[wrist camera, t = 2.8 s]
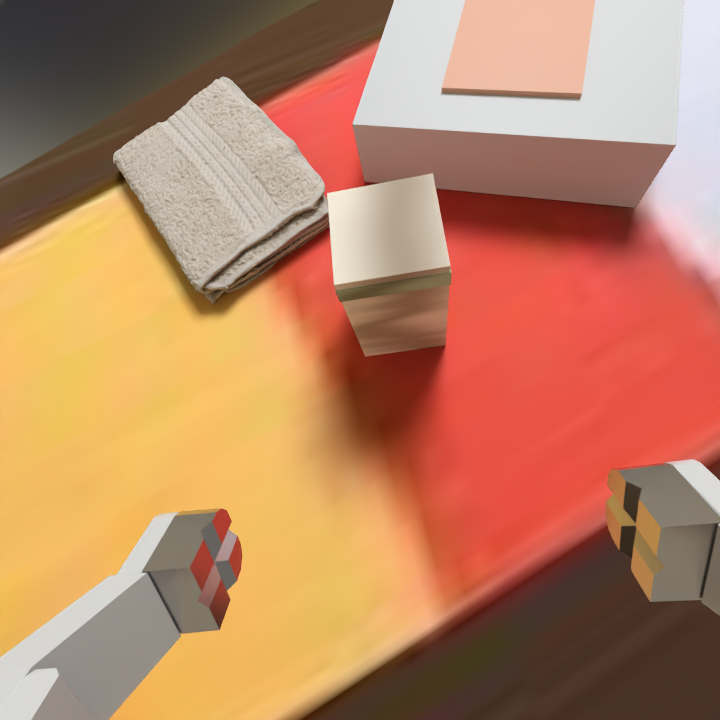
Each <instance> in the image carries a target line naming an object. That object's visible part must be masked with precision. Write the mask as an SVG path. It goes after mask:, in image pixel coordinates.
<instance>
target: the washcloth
mask: <svg viewBox="0 0 720 720" xmlns="http://www.w3.org/2000/svg"><path fill="white" fill-rule="evenodd" d="M113 162H114V163H115V164H116V165H117V167H118V169H119V170H120V172H121V173H122V175H123V176H124V178H125V179H126V182H127V183H128V185H130V188H131V190H132V191H133V192H134V193H135V195H137V196H138V200H139V201H140V202H141V203H142V204H143V206H144V209H145V213H146V214H147V215H148V216H149V218H150V219H151V220H152V222H154V226H156V227H157V231H158V232H159V233H160V235H161V236H162V237H163V238H164V240H165V241H166V243H167V245H168V247H169V248H170V251H171V252H172V253H173V254H174V255H175V258H176V260H177V262H179V264H180V265H181V269H182V270H183V272H184V273H185V276H186V277H187V278H188V279H189V281H190V283H191V285H192V286H193V287H194V288H195V290H196V291H198V292H199V293H200V294H204V296H205V298H206V299H208V300H209V301H210V302H211V303H212V304H214V303H215V302H216V300H217V298H219V297H220V296H221V294H222V293H223V292H225V293H230V292H232V291H236V290H238V289H241V288H243V287H244V286H246V285H247V284H249V283H250V282H252V281H253V280H254V279H256V278H258V277H259V276H260V275H262V274H264V273H265V272H266V271H268V270H269V269H270V268H272V267H273V266H274V265H275V264H276V263H277V262H278V261H280V260H281V259H282V258H283V257H285V256H287V255H288V254H290V253H292V252H293V251H295V250H296V249H297V248H299V247H301V246H302V245H304V244H305V243H307V242H308V241H309V240H311V239H312V238H314V237H315V236H317V235H318V234H319V233H321V232H322V231H323V230H325V229H326V228H328V227H329V226H330V224H329V211H328V199H327V198H326V197H325V195H323V194H324V192H325V185H324V182H323V180H322V178H321V177H320V175H318V174H317V173H316V171H315V170H314V169H313V168H312V167H311V166H310V165H309V163H308V162H307V160H306V159H305V158H304V156H303V155H302V154H301V152H300V151H299V149H298V147H297V145H296V143H295V142H294V141H293V140H292V139H290V138H289V137H288V136H286V135H285V134H284V133H283V132H282V131H281V130H280V129H279V128H278V127H277V126H276V125H275V124H274V123H273V122H272V121H271V120H270V119H269V118H268V116H267V115H266V114H265V113H264V112H263V110H261V109H260V108H259V107H258V106H257V105H256V104H255V103H253V102H252V101H251V100H250V99H249V98H247V97H246V95H245V94H244V93H243V92H242V91H241V90H240V88H238V87H237V86H236V85H235V84H234V83H233V81H231V80H230V79H228V78H226V77H221V78H220V79H219V80H218V79H216V80H215V81H214V82H213V83H212V84H211V85H209V86H208V88H205V89H203V90H202V92H199V93H198V95H195V96H193V98H192V99H191V100H189V102H188V103H187V104H186V105H185V106H184V107H182V108H181V110H179V111H177V112H176V113H175V114H174V115H172V116H171V117H170V118H169V119H168V120H167V121H166V122H163V123H160V122H159V123H157V124H156V125H155V126H152V127H151V128H149V129H147V130H145V132H143V133H142V134H140V135H139V136H136V137H135V138H134V139H133V140H131V141H129V142H128V143H127V144H126V145H124V146H123V147H122V148H121V149H119V150H118V151H116V152H115V153H114V156H113Z"/></svg>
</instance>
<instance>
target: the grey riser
mask: <svg viewBox="0 0 720 720" xmlns="http://www.w3.org/2000/svg"><path fill="white" fill-rule="evenodd" d="M683 6H684V0H394V3H393V6H392V9H391V12H390V15H389V18H388V21H387V24H386V27H385V30H384V33H383V36H382V39H381V41H380V44H379V47H378V50H377V53H376V56H375V59H374V62H373V65H372V68H371V71H370V74H369V77H368V80H367V83H366V86H365V89H364V92H363V95H362V97H361V100H360V103H359V106H358V109H357V112H356V115H355V118H354V121H353V124H352V125H353V129H354V134H355V139H356V144H357V148H358V153H359V158H360V163H361V167H362V172H363V177H364V181H365V182H373V183H384V182H389V181H395V180H400V179H405V178H411V177H416V176H421V175H426V174H432V173H433V176H434V182H435V187H436V189H446V190H456V191H467V192H477V193H487V194H498V195H508V196H519V197H529V198H539V199H550V200H560V201H571V202H581V203H591V204H602V205H612V206H622V207H633V208H636V206H637V205H638V203H639V201H640V200H641V198H642V197H643V195H644V194H645V192H646V191H647V189H648V188H649V186H650V184H651V183H652V181H653V180H654V178H655V177H656V175H657V174H658V172H659V170H660V169H661V167H662V166H663V164H664V163H665V161H666V160H667V158H668V157H669V155H670V153H671V152H672V150H673V149H674V147H675V146H676V134H677V116H678V98H679V79H680V61H681V42H682V24H683Z"/></svg>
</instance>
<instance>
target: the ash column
mask: <svg viewBox="0 0 720 720" xmlns="http://www.w3.org/2000/svg"><path fill="white" fill-rule="evenodd" d="M327 198H328V211H329V224H330V237H331V250H332V263H333V276H334V286H335V291H336V294H337V296H338V298H339V301H340V302H342V304H343V306H344V309H345V311H346V313H347V316H348V318H349V320H350V323H351V325H352V327H353V330H354V332H355V334H356V336H357V339H358V341H359V343H360V346H361V348H362V350H363V353H364V355H365V357H366V356H373V355H380V354H387V353H394V352H401V351H409V350H416V349H423V348H430V347H437V346H444V345H446V331H447V315H448V298H449V285H451V268H450V261H449V256H448V250H447V245H446V240H445V234H444V229H443V224H442V219H441V213H440V208H439V203H438V197H437V192H436V187H435V182H434V176H433V173H432V174H426V175H421V176H416V177H411V178H405V179H400V180H395V181H389V182H384V183H379V184H374V185H368V186H363V187H358V188H352V189H347V190H342V191H337V192H331V193H327Z"/></svg>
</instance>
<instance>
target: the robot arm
mask: <svg viewBox="0 0 720 720" xmlns="http://www.w3.org/2000/svg"><path fill="white" fill-rule="evenodd" d="M607 485H608V486H609V488H610V489H611V491H612V492H613V495H612V496H611V497H610V498H609V499H608V500H607V501H606V519H607V523H608V528H609V531H610V533H611V536H612V538H613V540H614V542H615V544H616V545H617V547H618V549H619V550H620V551H621V552H623V553H624V554H626V555H628V556H629V557H631V558H632V566H631V571H632V572H633V574H634V576H635V577H636V579H637V580H638V582H639V584H640V585H641V587H642V589H643V590H644V592H645V594H646V595H647V597H648V599H649V600H650V602H654V601H681V600H702V603H703V604H705V605H706V606H707V607H709V608H710V609H711V610H713V611H714V612H715V613H717V614H718V615H720V481H719V480H718V479H717V478H716V477H715V476H714V475H713V474H712V473H711V472H710V471H709V470H708V469H707V468H706V467H704V466H703V465H702V464H701V463H700V462H698V461H696V460H694V459H691V460H682V461H674V462H665V463H664V464H663V463H660V464H651V465H642V466H633V467H624V468H614V469H611V470H610V472H609V474H608V482H607ZM231 522H232V521H231V519H230V517H229V514H228V512H227V510H224V509H208V510H195V511H182V512H175V513H161V514H159V515H157V516H156V517H154V518H153V520H152V521H151V523H150V524H149V526H148V527H147V529H146V530H145V532H144V534H143V535H142V537H141V538H140V540H139V541H138V543H137V544H136V546H135V547H134V549H133V550H132V552H131V553H130V555H129V557H128V558H127V560H126V561H125V563H124V564H123V566H122V567H121V569H120V570H119V572H118V573H117V575H112V576H109V577H107V578H106V579H105V580H103V581H102V582H101V583H99V584H98V585H97V586H95V587H94V588H93V589H91V590H90V591H89V592H87V593H86V594H85V595H83V596H82V597H81V598H79V599H78V600H77V601H75V602H74V603H73V604H71V605H70V606H69V607H67V608H66V609H65V610H63V611H62V612H61V613H59V614H58V615H57V616H55V617H54V618H53V619H51V620H50V621H48V622H47V623H46V624H44V625H43V626H42V627H40V628H39V629H38V630H36V631H35V632H34V633H32V634H31V635H30V636H28V637H27V638H26V639H24V640H23V641H22V642H20V643H19V644H18V645H16V646H15V647H14V648H12V649H11V650H10V651H8V652H7V653H6V654H4V655H3V656H2V657H0V720H109V718H110V717H111V716H112V715H113V714H114V713H115V711H116V710H117V709H118V708H119V707H120V706H121V705H122V703H123V702H124V701H125V700H126V699H127V698H128V696H129V695H130V694H131V693H132V692H133V691H134V690H135V688H136V687H137V686H138V685H139V684H140V683H141V681H142V680H143V679H144V678H145V677H146V676H147V675H148V673H149V672H150V671H151V670H152V669H153V668H154V667H155V665H156V664H157V663H158V662H159V661H160V660H161V658H162V657H163V656H164V655H165V654H166V653H167V652H168V650H169V649H170V648H171V647H172V646H173V645H174V643H175V642H176V641H177V640H178V639H179V638H180V637H181V635H180V634H183V633H193V632H203V631H213V630H220V627H221V624H222V622H223V619H224V616H225V613H226V610H227V608H228V605H229V602H230V598H229V595H228V593H227V590H228V589H229V588H230V587H231V586H232V585H233V584H234V583H235V582H236V581H237V579H238V576H239V573H240V570H241V562H242V550H241V544H240V541H239V539H238V536H237V535H235V534H234V533H233V532H231V531H230V530H228V529H229V527H230V524H231Z"/></svg>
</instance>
